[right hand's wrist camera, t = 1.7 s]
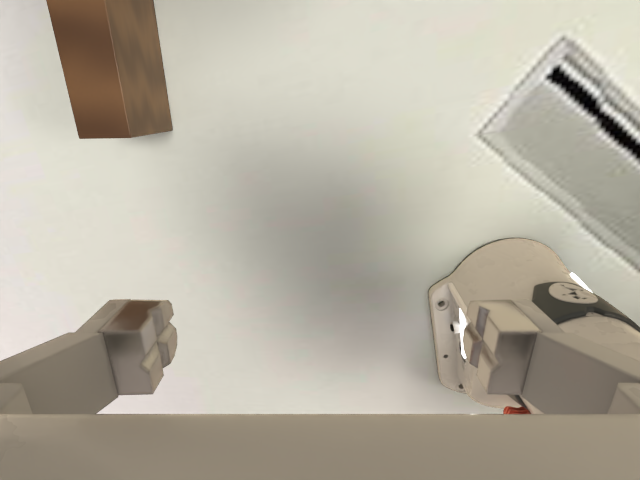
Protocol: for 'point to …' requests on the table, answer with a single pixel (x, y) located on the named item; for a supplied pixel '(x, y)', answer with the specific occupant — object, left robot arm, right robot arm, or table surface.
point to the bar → (112, 66)
